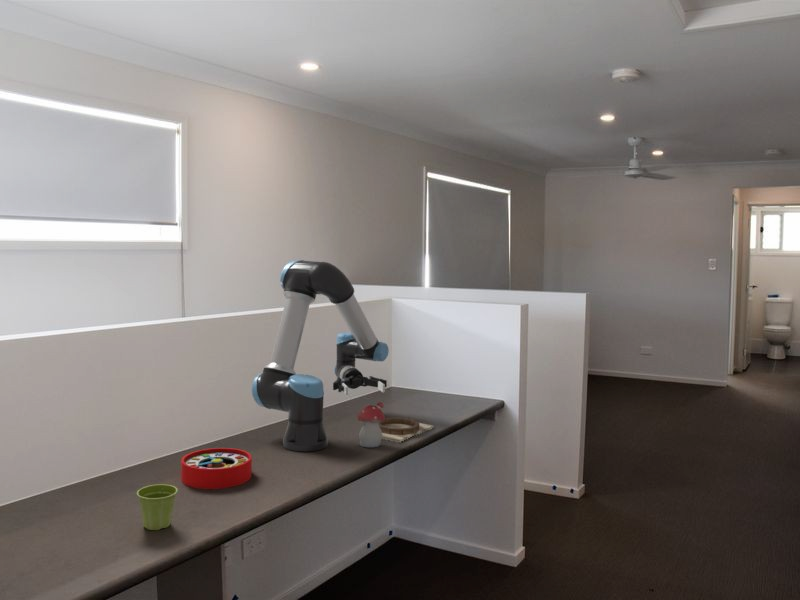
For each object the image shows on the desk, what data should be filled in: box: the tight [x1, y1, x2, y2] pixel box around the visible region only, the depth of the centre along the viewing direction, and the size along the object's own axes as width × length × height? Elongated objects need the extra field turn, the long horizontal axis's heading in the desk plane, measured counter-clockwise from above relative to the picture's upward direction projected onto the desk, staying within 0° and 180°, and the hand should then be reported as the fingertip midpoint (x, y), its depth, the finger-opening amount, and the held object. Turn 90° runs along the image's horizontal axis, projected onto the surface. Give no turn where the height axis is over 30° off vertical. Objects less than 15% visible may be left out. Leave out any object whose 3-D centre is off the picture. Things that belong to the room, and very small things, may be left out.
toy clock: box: [180, 447, 253, 490], centre depth 206 cm, size 20×6×20 cm
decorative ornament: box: [357, 401, 386, 448], centre depth 240 cm, size 9×7×15 cm
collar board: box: [379, 417, 434, 443], centre depth 259 cm, size 24×17×3 cm
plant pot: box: [136, 483, 179, 531], centre depth 170 cm, size 9×9×9 cm
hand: (365, 389), depth 251 cm, fingers open, 13 cm apart
